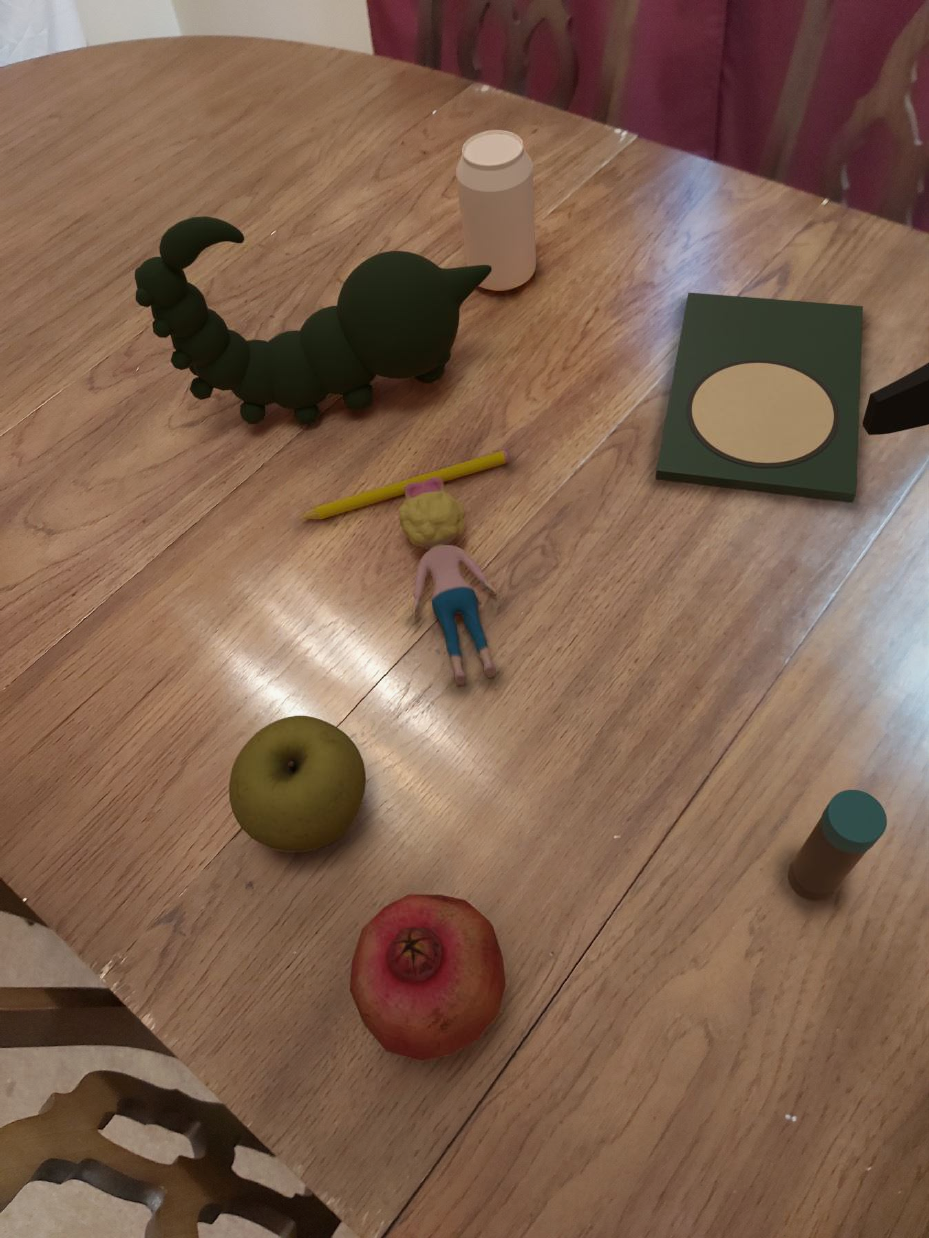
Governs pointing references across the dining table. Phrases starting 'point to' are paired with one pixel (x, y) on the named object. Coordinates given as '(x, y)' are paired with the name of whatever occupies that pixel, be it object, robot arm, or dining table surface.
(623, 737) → the dining table surface
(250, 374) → the toy caterpillar
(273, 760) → the apple
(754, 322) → the kitchen scale
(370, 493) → the pencil
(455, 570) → the figurine
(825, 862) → the pill bottle
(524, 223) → the beverage can
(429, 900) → the fruit
